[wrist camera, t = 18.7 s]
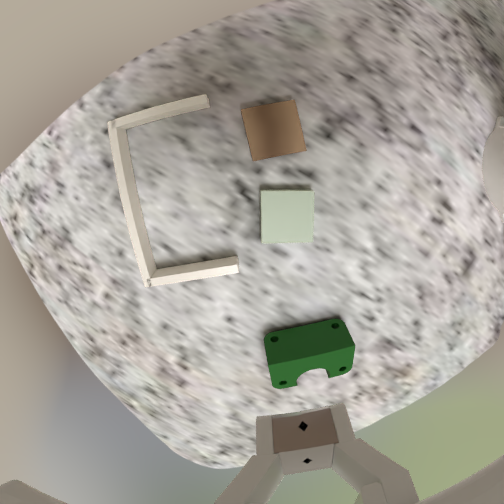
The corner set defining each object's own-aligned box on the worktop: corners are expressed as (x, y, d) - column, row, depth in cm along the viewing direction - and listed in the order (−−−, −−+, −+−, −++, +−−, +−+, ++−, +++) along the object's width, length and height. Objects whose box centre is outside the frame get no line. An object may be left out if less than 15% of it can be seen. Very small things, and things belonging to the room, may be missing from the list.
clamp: (277, 341, 44) (261, 388, 37) (273, 314, 41) (254, 363, 34) (353, 347, 40) (348, 398, 32) (357, 319, 37) (352, 373, 29)
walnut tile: (291, 103, 30) (294, 99, 28) (302, 151, 32) (306, 150, 30) (241, 112, 30) (241, 109, 28) (252, 161, 32) (253, 161, 30)
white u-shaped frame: (209, 99, 29) (205, 94, 26) (238, 263, 35) (238, 272, 33) (117, 124, 29) (107, 122, 27) (152, 277, 36) (145, 287, 33)
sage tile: (310, 189, 33) (314, 191, 31) (309, 237, 35) (312, 242, 33) (259, 189, 33) (261, 191, 31) (260, 238, 35) (261, 243, 33)
